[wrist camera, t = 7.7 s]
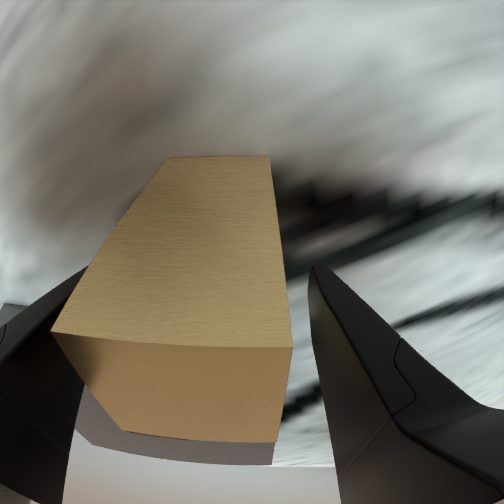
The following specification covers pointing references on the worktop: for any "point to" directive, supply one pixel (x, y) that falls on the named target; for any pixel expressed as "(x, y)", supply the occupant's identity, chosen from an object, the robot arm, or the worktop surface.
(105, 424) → the post plate
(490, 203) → the worktop surface
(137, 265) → the brass peg
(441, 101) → the worktop surface
